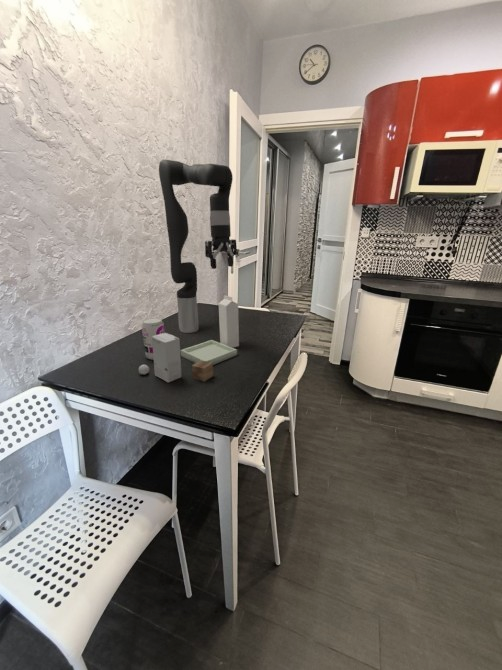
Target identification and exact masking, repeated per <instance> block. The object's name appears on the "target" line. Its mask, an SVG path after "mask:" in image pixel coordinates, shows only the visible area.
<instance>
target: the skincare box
mask: <svg viewBox="0 0 502 670" xmlns="http://www.w3.org/2000/svg"><path fill="white" fill-rule="evenodd" d="M180 341H181V340H180V338H179V337H177V336H175V335H173V334H170V333H168V332H165V333H162V334H159V335H155V336H152V344H153V358H154V360H153V367H154V376H155V377H158V378H160V379H161V380H162V381H165V382H166V383H171V382H173V381H175V380H177V379H180V378H182V362H181V361H182V360H181V342H180Z"/></svg>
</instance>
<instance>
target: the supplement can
mask: <svg viewBox="0 0 502 670" xmlns="http://www.w3.org/2000/svg"><path fill="white" fill-rule="evenodd" d="M164 324H165V323H164V321H163V320H162V319H161V318H158V317H152V318H146V319H144V320H142V323H141V331H142V338H143V345H144V353H145V354H144V355H145V357H146V358H147V359H148V360H153V361H154V358H153V344H152V336H155V335H159V334H162V333H166V332H165V325H164Z"/></svg>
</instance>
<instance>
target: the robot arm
mask: <svg viewBox="0 0 502 670" xmlns="http://www.w3.org/2000/svg"><path fill="white" fill-rule="evenodd" d="M158 176H159V181H160V185H161V186H160V187H161V191H162V196H163V202H164V210H165V219H166V229H167V235H168V241H169V243H168V244H169V257H170V258H169V259H170V273H171V279H172V280H173V282H174V283H175V284H183V286H182V287H181V288H179V289H178V290H177V291H176V298H177V299H176V300H177V301H176V302H177V309H178V310H177V318H178V319H177V320H178V330H179V331H180V332H181V333H183V334H189V333H197V332H198V331H199V330H200V328H199V312H198V299H197V298H198V297H197V292H198V274H197V273H198V271H197V267H196V265H195V263H193V262H192V261H187V262H182V252H183V248H184V246H185V243H186V241H187V239H188V236H189V224H188V223H189V222H188V221H189V220H188V216H187V214H186V212H185V210H184V209H183V207H182V205H181V204H180V202H179V201H178V199H177V196H176V195H175V192H174V186H182V185H187V184H191V183H192V184H194V185H199V186H209V187H210V186H211V187H218V190H217V191H218V192H217V193H212V194H210V196H209V208H210V209H209V210H210V212H209V213H210V214H209V215H210V216H209V221H210V222H209V225H210V237H211V239H212V240H206V241H205V242H204V246H205V247H204V250H205V251H204V254H205V255H204V256H205V257H206V258H208V259H209V260H210V261H209V262H210V264H209V265H210V268H211V269H213V270H215V269H217V256H218V254H219V253H222V252H223V253H225V254H226V256H227V266H228V267H233V265H234V256H236V255H238V249H237V240H236V239H234V238H233V239H230V238H231V236H232V235H231V234H232V233H231V215H230V203H229V201H230V194H231V190H232V185H233V172H232V170H231V168H230V167H229V166H228V165H222V164H216V163H205V164H202V163H199V164H198V163H197V164H196V163H195V164H192V165H189V164H187V163H184V162H181V161H178V160H170V159H161V160H160V162H159V164H158Z"/></svg>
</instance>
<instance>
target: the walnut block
mask: <svg viewBox="0 0 502 670" xmlns="http://www.w3.org/2000/svg"><path fill="white" fill-rule="evenodd" d="M213 366H214V365H213V363H211V362H207V361H203V360H200V361H199V362H197V363H195V362H194V364H192V365H191V370H192V379H194V380H197V381H201V382H206V381H208V380H210V379H211V378H212V377H214V367H213Z"/></svg>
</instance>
